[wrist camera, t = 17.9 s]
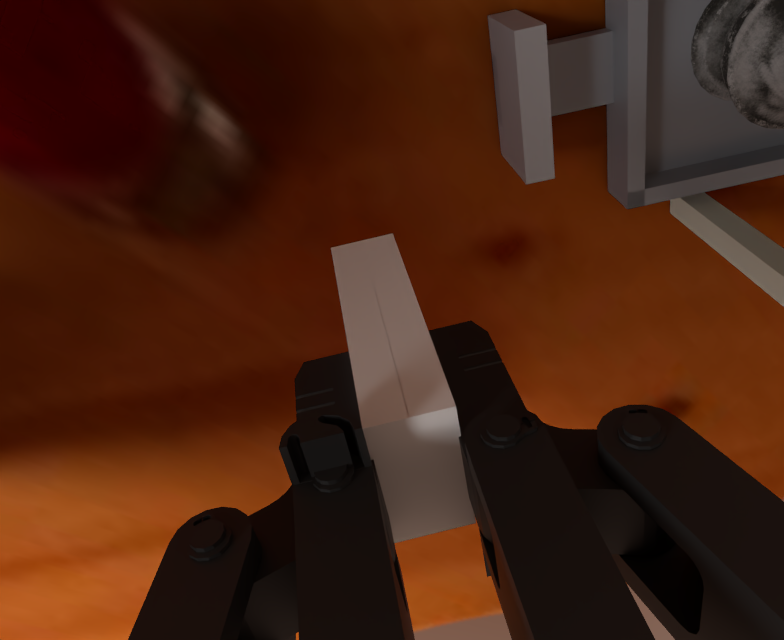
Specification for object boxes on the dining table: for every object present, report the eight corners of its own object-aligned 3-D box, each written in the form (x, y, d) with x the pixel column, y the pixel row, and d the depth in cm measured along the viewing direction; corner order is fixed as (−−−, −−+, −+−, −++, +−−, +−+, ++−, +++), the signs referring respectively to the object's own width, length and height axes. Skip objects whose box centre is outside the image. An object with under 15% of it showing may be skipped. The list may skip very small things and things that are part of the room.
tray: (507, 213, 33) (531, 249, 30) (479, -67, 27) (506, -62, 24) (848, 138, 33) (910, 164, 30) (901, -158, 27) (988, -166, 24)
